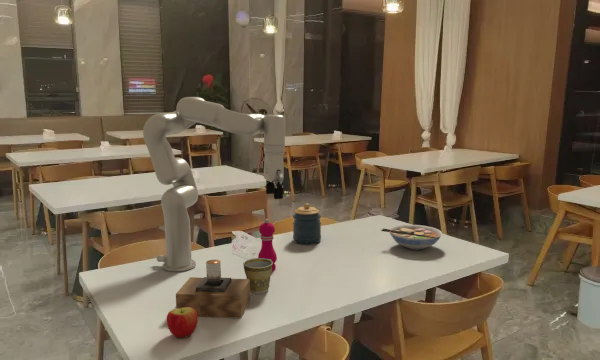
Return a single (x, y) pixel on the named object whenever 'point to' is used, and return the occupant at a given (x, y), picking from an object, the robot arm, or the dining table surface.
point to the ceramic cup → (258, 274)
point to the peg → (213, 272)
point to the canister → (306, 225)
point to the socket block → (215, 297)
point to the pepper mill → (267, 242)
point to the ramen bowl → (414, 236)
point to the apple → (182, 321)
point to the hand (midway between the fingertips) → (274, 196)
